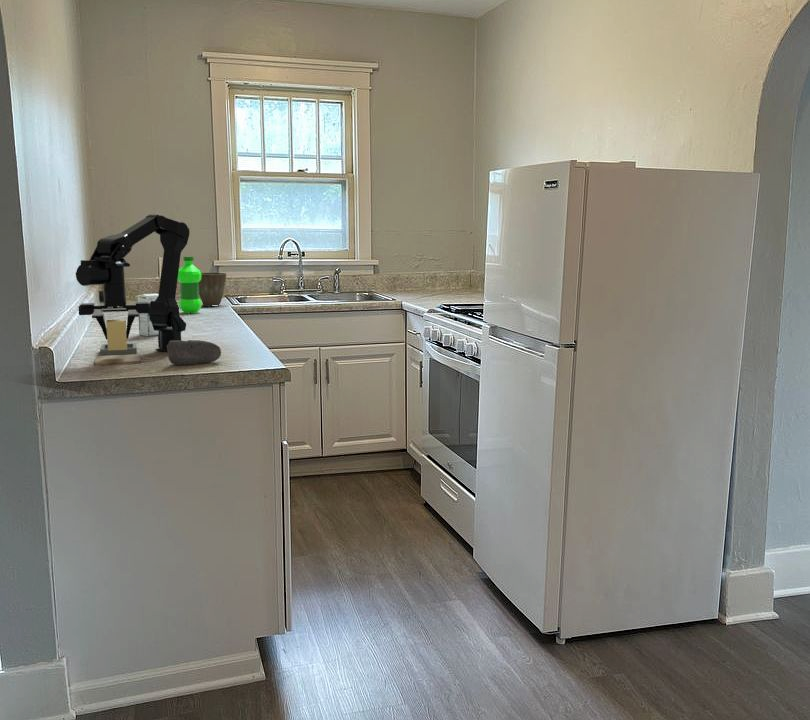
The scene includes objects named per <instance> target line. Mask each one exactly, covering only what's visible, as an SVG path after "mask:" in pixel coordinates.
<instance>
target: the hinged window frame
mask: <svg viewBox="0 0 810 720" xmlns="http://www.w3.org/2000/svg"><path fill="white" fill-rule="evenodd" d="M137 350H138V347H137V342H127V350H108V343H103V344H101V346H100V349H99V353H100V355H99V356H109V355H132V354H138V352H137Z"/></svg>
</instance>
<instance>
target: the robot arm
mask: <svg viewBox="0 0 810 720" xmlns="http://www.w3.org/2000/svg"><path fill="white" fill-rule="evenodd" d="M154 233H155V234H157V235H158V236H159V241H160V244H161V247H162V248H163V254H162V255H163V257H162V263H161V264H162V265H161V271H160V281H159V288H158V294H159V295H158V297H157V299H156V300H155V301H151V302H150V303H149V302H138V301H136V302H135V304H127V296H126V284H125V282H126V281H125V268H127V267H130V266H131V265H130V264H131V263H129V262H127V260H126V259H125V257H126V256H128V254H130V252H131V251H132V249H133V247H134V246H135V245H137V244H138V243H139V242H140V241H143V240H144V239H145V238H146V237H149V236H150V235H151V234H154ZM189 238H190V228H189V227H188V225H187V224H186V223H185V222H182V221H178V220H174V219H171V218H168V217H166V216H164V215H162V214H148V215H146V217H144V218H143V219H141V220H140V221H138V222H136V223H135V224H133V225H131V226H130V227H128V228H127V229H125V230H123V231H122V232H119V233H117V234H111V235H108V236H105V237H102V238H100V239H98V241H97V243H96V244H97V245H96V247H95V249H94V251H93V253H92V254H91V256H90V258H89V259H88V260H85V259H84V260H83V259H81V260H80V265H78V266H77V268H76V271H75V277H76V281H77V282H78V284H79V285H80V286H84V287H87V286H98V285H99V286H100V285H102V290H99V292H98V300H99V303H100V304H103V305H95V303H94V302H90V303H88V302H87V303H85V302H84V303H83V302H82V303H80V304H79V305H78V316H91V318H92V319H96V321H97V323H98V324H99V326H100V328H101V331H102V332H103V334H104V338H105V339H106V340H107V326H106V318H105V313H110V312H111V313H114V312H118V313H119V312H120V313H121V312H128V313H127V320H126V337H127V339H129V336H130V332H131V328H132V325H133V323H134V321H135V318H139V314H142V313H148V314H150V315H149V318H150V321H151V323H152V326H153V329H154V330H158V332H159V335H157V338H158V339H157V341H158V343H157V344H158V345H157V346H158V348H155V351H158V352H166V353H167V352H168V351H167V347H166V346H167V345H168V343H169V341H172V340H180V341H182V332H185V331H186V328H187V323H186V321H184V319H183V318H182V317H181V316H180V307H179V303H178V302H177V299H176V296H177V289H178V288H177V287H178V272H179V269H180V263H181V262H180V261H181V254H182V252H183V250H184V249H185V248H186V246H187V245H188V242H189Z"/></svg>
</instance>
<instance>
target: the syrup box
mask: <svg viewBox="0 0 810 720" xmlns="http://www.w3.org/2000/svg"><path fill="white" fill-rule="evenodd" d="M158 295H159V293H143V294H138V295H137V302H149V303H150V302H151V301H155V300H156V299H157V297H158ZM149 315H150V314H148V313H142V314H139V317H138V334H139V335H140V336H145V337H154V336H158V335H159V332H158V330H154V329H153V326H152V323H151V321H150V318H149Z"/></svg>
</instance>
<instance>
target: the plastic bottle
mask: <svg viewBox="0 0 810 720" xmlns="http://www.w3.org/2000/svg"><path fill="white" fill-rule="evenodd" d="M194 259H195V258H194V256H183V262H184V265H183V266H181V267H179V272H178V280H177V282H179V287H180V288H179V289H180V299H179V301H178V306H179V310H181V311H182V312H183V313H184V314H187V313H193V314H197V313H198V312H199V311H200V310H201V308H202V305H203V303H202V301H201V298H200V295H199V281H200V280H201V273H202V272H201V270H200V269H198V268H197V267H196V266H195V265H194V264H193V262H194V261H195V260H194ZM196 312H197V313H196Z"/></svg>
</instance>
